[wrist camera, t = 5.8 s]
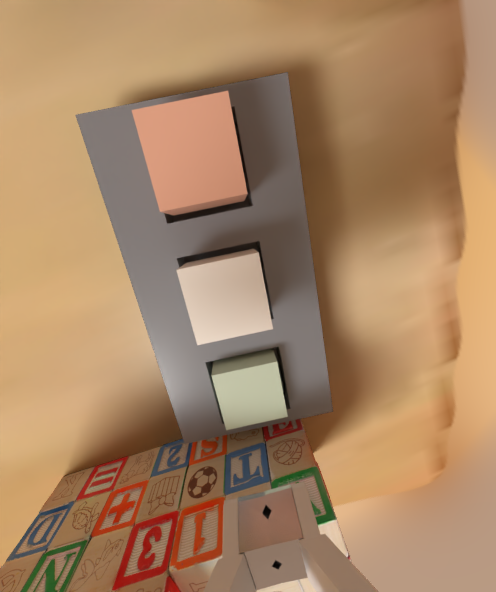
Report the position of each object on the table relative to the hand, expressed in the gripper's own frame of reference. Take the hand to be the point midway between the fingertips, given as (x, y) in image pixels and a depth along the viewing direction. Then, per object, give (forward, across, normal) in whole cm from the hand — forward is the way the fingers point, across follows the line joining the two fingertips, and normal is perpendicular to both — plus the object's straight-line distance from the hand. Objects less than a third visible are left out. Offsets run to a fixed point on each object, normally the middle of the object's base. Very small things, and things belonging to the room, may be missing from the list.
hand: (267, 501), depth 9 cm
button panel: (+11, 0, -6) cm, 13 cm away
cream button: (+9, 0, -6) cm, 11 cm away
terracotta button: (+9, 0, -13) cm, 16 cm away
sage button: (+10, 0, +1) cm, 10 cm away
